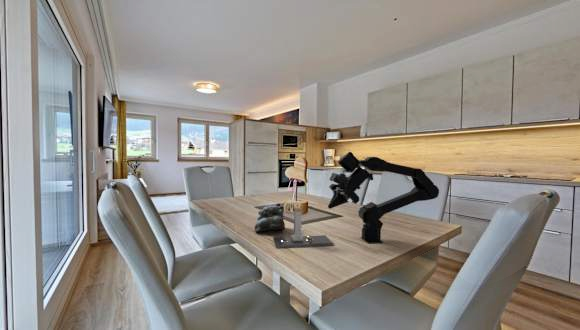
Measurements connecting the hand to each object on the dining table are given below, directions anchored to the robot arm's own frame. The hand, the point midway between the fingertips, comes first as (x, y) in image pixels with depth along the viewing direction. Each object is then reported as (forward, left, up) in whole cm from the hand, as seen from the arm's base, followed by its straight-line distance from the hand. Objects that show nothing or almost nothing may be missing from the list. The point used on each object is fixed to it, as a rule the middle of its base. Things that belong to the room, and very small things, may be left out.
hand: (328, 207), depth 94 cm
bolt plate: (+11, 0, -14) cm, 17 cm away
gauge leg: (+13, 0, -12) cm, 18 cm away
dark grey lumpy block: (+22, -17, -14) cm, 31 cm away
